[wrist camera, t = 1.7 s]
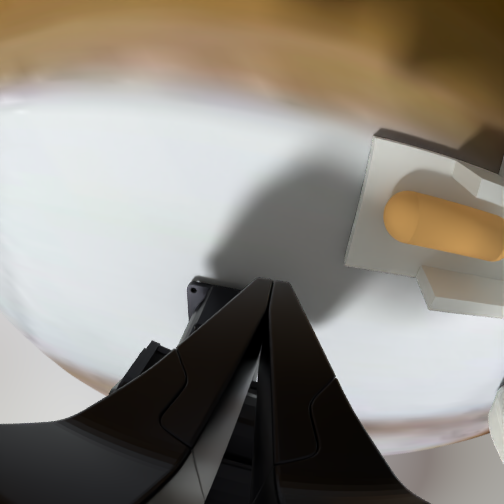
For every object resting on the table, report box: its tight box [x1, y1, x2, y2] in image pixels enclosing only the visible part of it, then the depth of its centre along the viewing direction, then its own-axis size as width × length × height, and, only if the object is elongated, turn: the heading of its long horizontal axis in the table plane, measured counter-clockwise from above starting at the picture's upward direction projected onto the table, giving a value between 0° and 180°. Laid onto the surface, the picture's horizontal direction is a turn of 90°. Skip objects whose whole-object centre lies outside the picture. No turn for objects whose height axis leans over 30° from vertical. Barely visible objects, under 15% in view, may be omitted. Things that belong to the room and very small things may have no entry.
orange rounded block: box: [383, 191, 504, 262], centre depth 14 cm, size 3×9×3 cm, turn 85°
